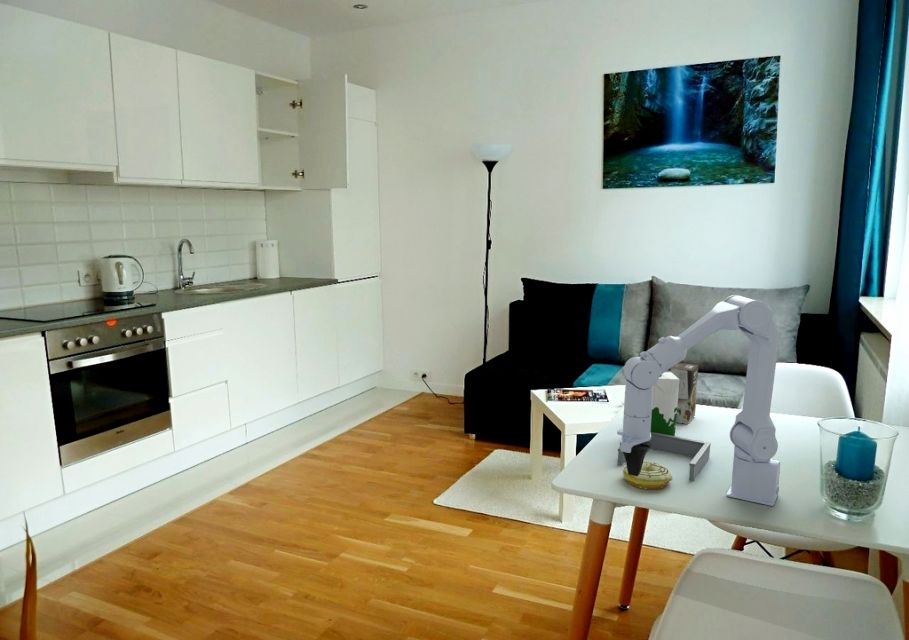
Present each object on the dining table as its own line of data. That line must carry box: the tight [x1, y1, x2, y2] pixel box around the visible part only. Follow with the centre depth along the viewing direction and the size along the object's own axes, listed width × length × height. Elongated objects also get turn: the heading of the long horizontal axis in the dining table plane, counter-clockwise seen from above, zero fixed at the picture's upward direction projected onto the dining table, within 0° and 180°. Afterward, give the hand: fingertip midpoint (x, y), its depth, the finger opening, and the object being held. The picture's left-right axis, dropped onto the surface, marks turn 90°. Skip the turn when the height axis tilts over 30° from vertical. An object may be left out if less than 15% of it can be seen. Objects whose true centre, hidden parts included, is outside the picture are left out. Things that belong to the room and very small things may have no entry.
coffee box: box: [670, 362, 699, 425], centre depth 201 cm, size 9×6×16 cm
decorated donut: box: [622, 461, 673, 490], centre depth 156 cm, size 10×11×4 cm
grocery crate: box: [617, 432, 712, 482], centre depth 169 cm, size 18×17×4 cm
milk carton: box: [650, 371, 680, 436], centre depth 183 cm, size 9×9×20 cm
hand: (633, 474), depth 147 cm, fingers closed
